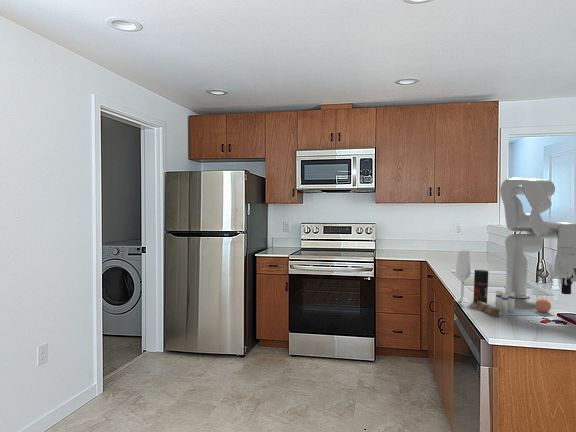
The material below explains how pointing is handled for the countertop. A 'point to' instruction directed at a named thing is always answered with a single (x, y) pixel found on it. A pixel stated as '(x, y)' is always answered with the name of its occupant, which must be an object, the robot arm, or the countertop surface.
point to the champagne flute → (463, 271)
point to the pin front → (511, 302)
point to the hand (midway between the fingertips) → (566, 293)
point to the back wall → (488, 308)
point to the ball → (543, 305)
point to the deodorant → (480, 286)
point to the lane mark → (527, 312)
